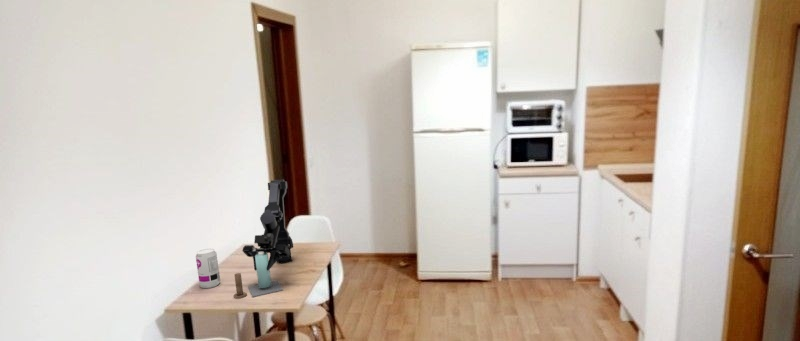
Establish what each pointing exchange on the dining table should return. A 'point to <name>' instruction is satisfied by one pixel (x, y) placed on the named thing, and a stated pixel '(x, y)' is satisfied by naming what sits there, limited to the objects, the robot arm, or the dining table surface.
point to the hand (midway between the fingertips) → (261, 270)
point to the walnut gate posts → (239, 287)
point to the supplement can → (207, 268)
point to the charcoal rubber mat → (265, 289)
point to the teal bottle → (262, 269)
